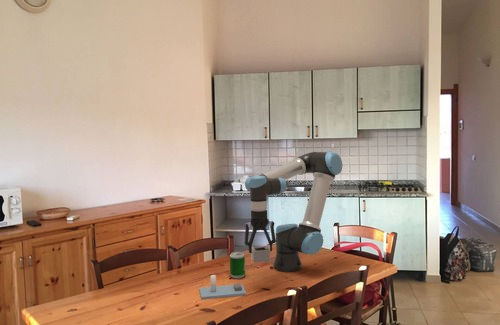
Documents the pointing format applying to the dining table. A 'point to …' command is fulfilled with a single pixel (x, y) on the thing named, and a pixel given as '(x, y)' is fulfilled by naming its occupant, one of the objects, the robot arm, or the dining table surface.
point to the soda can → (237, 265)
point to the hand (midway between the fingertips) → (260, 258)
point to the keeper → (221, 290)
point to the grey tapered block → (261, 254)
